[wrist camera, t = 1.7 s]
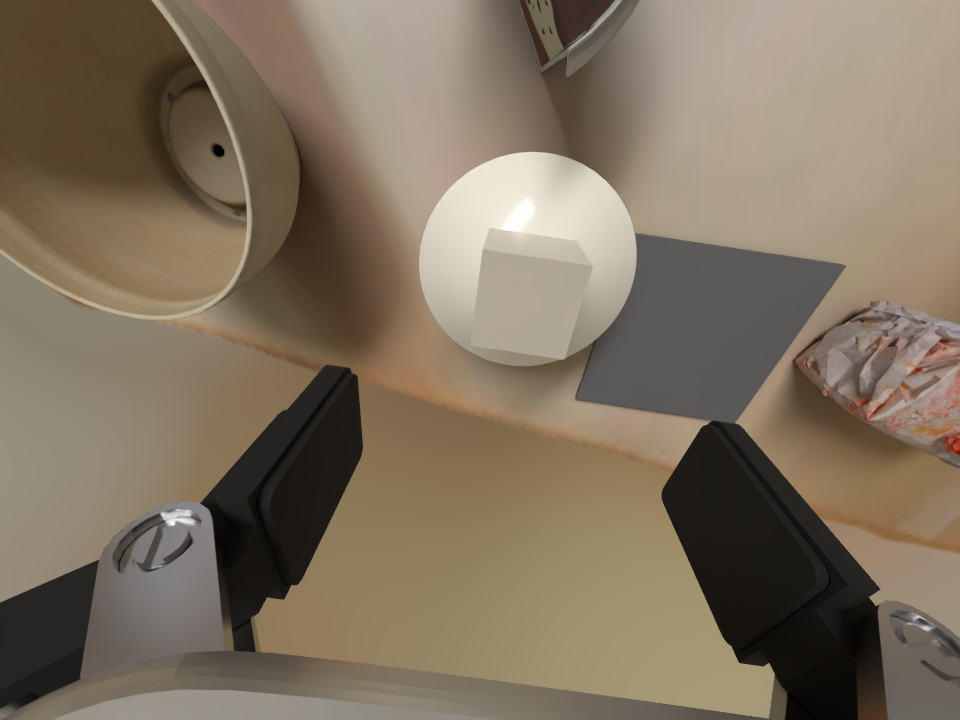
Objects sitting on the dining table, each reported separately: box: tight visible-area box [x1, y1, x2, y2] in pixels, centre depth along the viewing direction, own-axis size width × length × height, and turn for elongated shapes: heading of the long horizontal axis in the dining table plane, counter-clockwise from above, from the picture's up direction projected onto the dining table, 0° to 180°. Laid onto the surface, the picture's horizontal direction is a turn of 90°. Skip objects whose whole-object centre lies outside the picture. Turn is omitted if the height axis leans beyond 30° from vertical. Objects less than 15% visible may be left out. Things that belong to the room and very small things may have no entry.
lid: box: [419, 152, 637, 366], centre depth 19 cm, size 13×13×6 cm
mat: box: [575, 233, 846, 424], centre depth 28 cm, size 15×15×1 cm
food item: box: [794, 301, 960, 468], centre depth 24 cm, size 14×8×10 cm, turn 67°
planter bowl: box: [0, 0, 300, 320], centre depth 19 cm, size 16×16×11 cm
